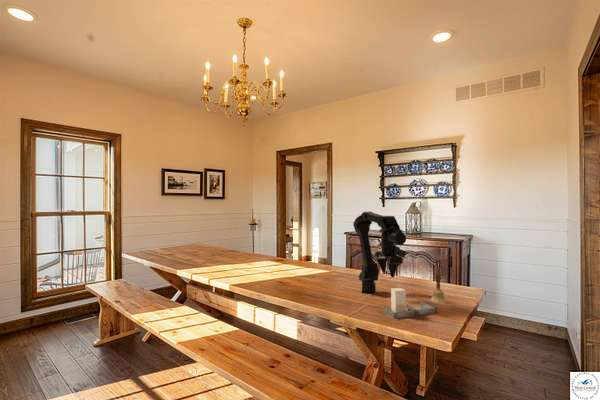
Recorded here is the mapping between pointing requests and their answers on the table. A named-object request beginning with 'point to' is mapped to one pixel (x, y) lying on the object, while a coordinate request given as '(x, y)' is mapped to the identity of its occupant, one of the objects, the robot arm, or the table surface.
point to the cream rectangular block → (398, 300)
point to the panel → (412, 311)
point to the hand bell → (438, 290)
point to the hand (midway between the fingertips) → (388, 275)
